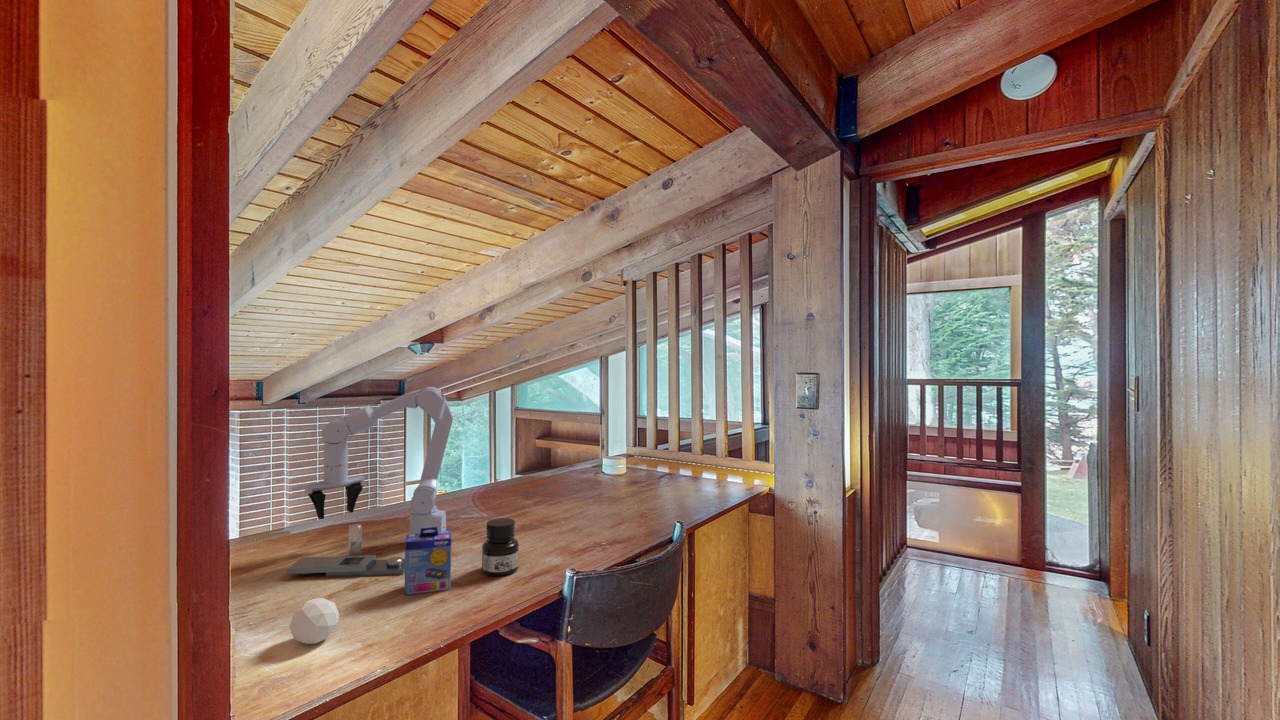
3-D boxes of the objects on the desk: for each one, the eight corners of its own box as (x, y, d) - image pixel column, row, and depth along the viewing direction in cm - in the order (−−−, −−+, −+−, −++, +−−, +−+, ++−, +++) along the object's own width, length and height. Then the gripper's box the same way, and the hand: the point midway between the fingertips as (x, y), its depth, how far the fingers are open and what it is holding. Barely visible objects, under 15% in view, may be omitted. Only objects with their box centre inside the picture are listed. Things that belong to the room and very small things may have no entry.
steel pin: (363, 553, 142) (363, 523, 142) (358, 558, 139) (359, 527, 139) (351, 554, 142) (351, 524, 142) (346, 558, 139) (346, 527, 139)
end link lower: (411, 563, 136) (411, 553, 136) (402, 574, 129) (402, 564, 129) (338, 565, 134) (338, 556, 134) (325, 577, 127) (325, 567, 127)
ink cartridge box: (403, 596, 118) (404, 531, 118) (405, 586, 123) (406, 523, 123) (451, 590, 121) (451, 526, 121) (450, 580, 126) (451, 519, 126)
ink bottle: (479, 579, 127) (480, 529, 127) (480, 565, 136) (480, 518, 136) (521, 575, 130) (521, 526, 130) (519, 561, 138) (519, 515, 138)
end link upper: (376, 564, 135) (376, 555, 135) (365, 575, 128) (365, 565, 128) (302, 567, 133) (302, 557, 133) (287, 578, 126) (287, 568, 126)
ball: (307, 662, 97) (280, 639, 93) (306, 628, 103) (280, 606, 99) (349, 635, 99) (324, 612, 95) (345, 604, 106) (321, 581, 101)
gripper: (356, 458, 152) (355, 506, 153) (300, 467, 141) (299, 518, 141) (368, 462, 148) (368, 510, 148) (311, 470, 137) (311, 523, 137)
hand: (335, 514), depth 144 cm, fingers open, 7 cm apart
